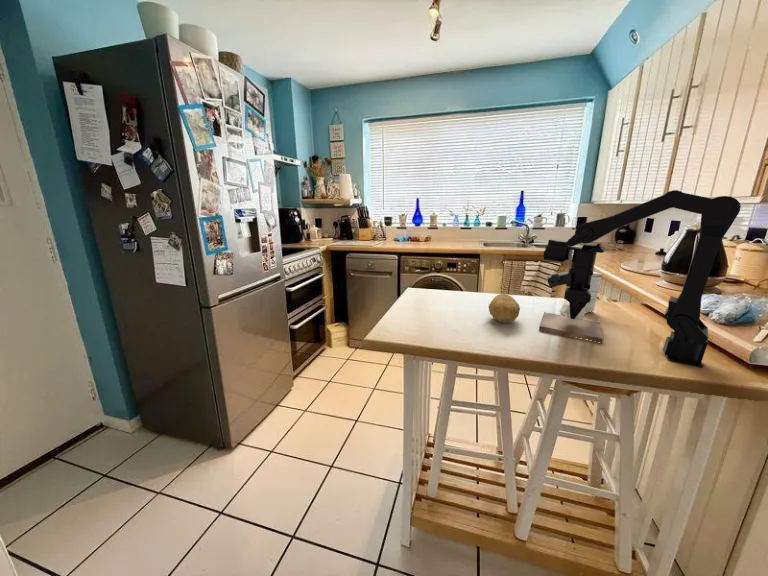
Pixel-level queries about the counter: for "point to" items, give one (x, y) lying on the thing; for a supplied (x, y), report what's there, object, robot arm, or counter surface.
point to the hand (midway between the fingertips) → (572, 315)
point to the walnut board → (571, 327)
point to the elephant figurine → (566, 309)
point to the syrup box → (593, 291)
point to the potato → (504, 308)
